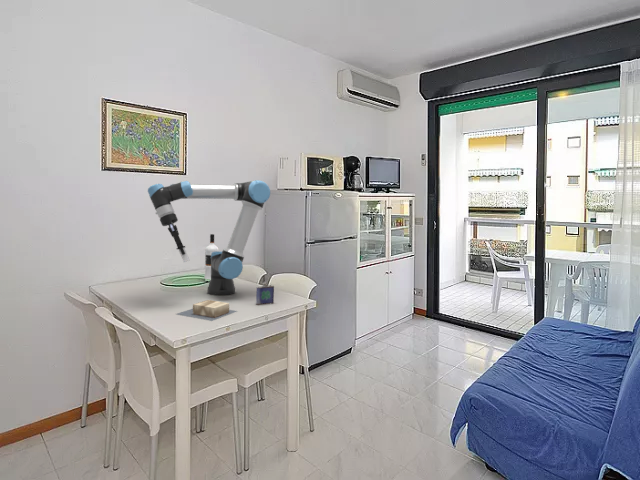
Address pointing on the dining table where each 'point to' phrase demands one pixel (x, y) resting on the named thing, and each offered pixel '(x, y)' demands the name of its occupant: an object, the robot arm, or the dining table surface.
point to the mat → (190, 314)
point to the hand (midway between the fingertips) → (186, 261)
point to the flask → (265, 294)
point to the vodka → (209, 256)
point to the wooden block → (211, 308)
